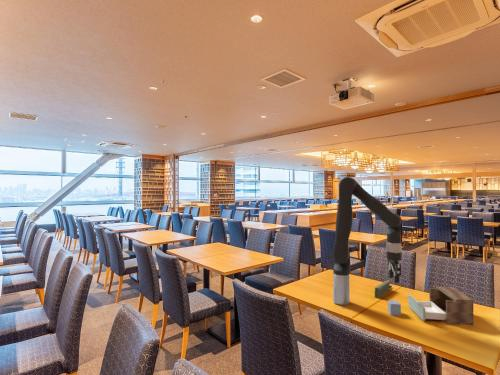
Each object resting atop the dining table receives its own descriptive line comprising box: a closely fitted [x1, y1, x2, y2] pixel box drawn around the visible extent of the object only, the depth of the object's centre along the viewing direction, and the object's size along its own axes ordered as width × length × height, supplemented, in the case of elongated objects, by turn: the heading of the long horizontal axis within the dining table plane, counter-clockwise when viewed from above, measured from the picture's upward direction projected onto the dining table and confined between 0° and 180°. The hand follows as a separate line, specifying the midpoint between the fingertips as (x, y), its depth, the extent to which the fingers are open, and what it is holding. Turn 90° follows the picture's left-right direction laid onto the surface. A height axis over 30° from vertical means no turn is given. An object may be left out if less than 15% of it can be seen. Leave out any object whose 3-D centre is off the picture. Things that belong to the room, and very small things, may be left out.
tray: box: [407, 293, 446, 321], centre depth 156 cm, size 12×19×6 cm, turn 171°
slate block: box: [387, 300, 402, 316], centre depth 158 cm, size 5×5×6 cm
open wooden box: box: [429, 286, 475, 326], centre depth 154 cm, size 12×19×13 cm, turn 171°
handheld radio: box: [374, 279, 392, 299], centre depth 189 cm, size 7×3×25 cm
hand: (394, 280), depth 158 cm, fingers open, 8 cm apart
